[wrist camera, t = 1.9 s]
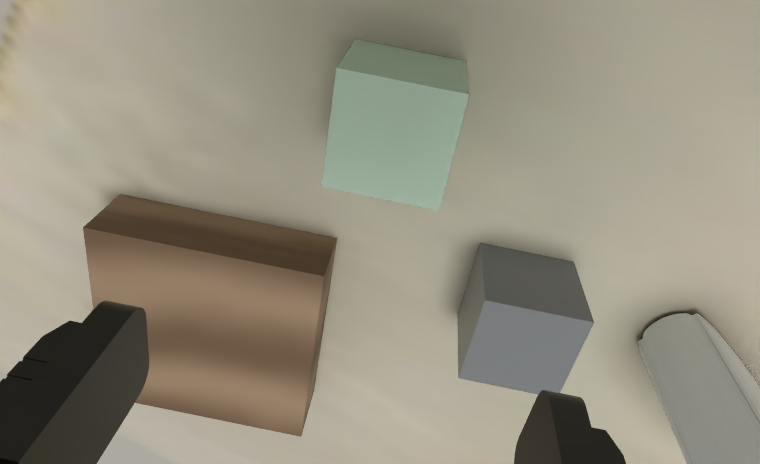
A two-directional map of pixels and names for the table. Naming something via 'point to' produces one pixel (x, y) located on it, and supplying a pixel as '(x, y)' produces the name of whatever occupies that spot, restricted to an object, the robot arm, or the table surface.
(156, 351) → the walnut block
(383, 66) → the sage cube
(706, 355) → the photo printer
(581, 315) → the charcoal cube
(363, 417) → the table surface
